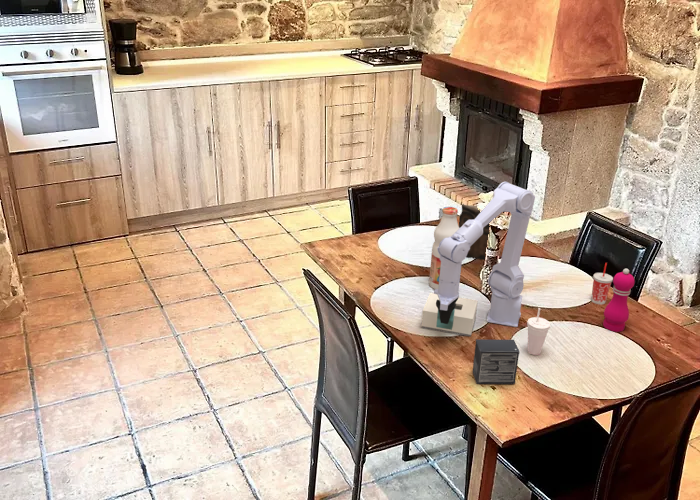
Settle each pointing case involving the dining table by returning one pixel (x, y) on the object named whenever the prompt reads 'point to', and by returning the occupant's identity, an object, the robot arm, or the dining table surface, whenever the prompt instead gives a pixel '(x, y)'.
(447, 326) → the block
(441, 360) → the dining table surface
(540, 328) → the smoothie
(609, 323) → the pepper mill
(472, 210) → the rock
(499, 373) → the small box
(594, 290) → the beverage cup
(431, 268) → the fruit juice
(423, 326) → the money box
